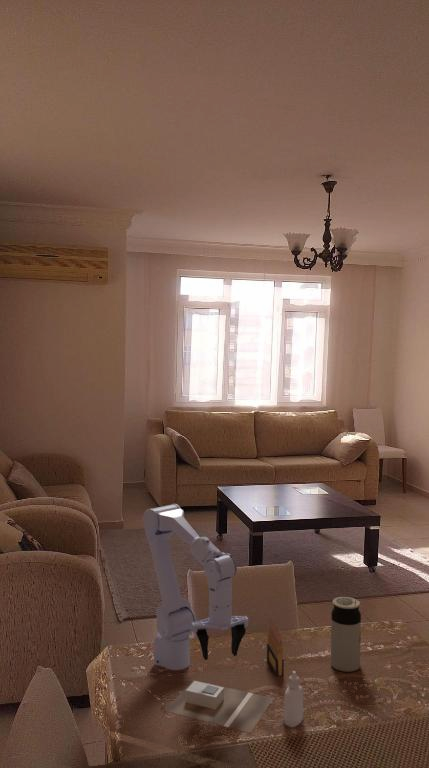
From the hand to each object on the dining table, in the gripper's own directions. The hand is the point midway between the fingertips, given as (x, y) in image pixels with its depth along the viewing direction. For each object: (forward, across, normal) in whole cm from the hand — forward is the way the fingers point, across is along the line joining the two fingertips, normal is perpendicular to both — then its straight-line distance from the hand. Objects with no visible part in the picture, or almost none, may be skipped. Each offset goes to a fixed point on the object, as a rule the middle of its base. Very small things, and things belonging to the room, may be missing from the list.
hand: (219, 656), depth 167 cm
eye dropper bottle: (+10, +13, -17) cm, 24 cm away
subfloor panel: (+10, -3, -6) cm, 12 cm away
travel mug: (+10, +38, +4) cm, 39 cm away
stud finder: (+9, -5, -4) cm, 11 cm away
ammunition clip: (+10, +18, +7) cm, 22 cm away
